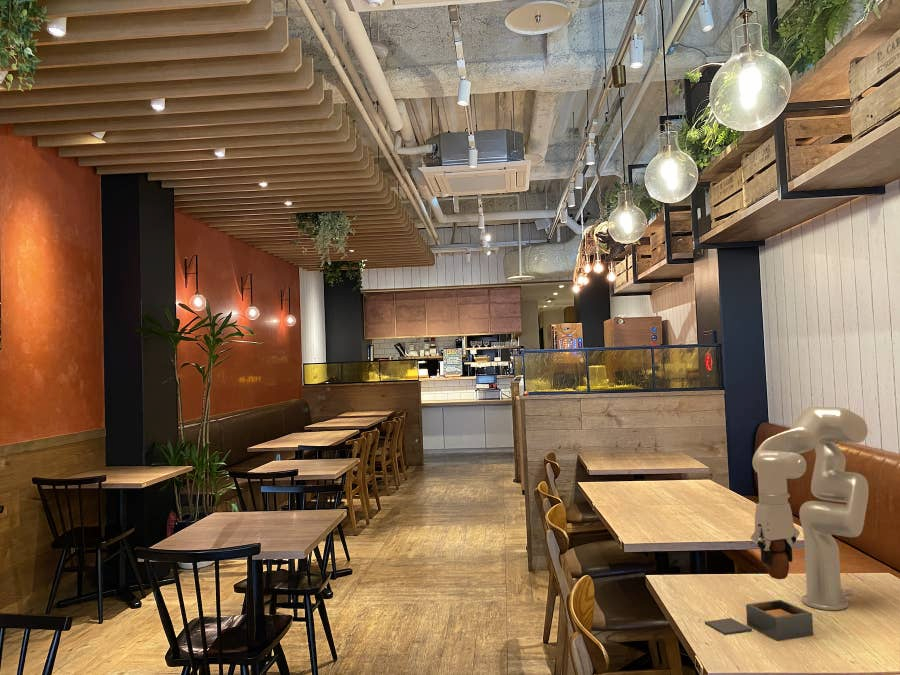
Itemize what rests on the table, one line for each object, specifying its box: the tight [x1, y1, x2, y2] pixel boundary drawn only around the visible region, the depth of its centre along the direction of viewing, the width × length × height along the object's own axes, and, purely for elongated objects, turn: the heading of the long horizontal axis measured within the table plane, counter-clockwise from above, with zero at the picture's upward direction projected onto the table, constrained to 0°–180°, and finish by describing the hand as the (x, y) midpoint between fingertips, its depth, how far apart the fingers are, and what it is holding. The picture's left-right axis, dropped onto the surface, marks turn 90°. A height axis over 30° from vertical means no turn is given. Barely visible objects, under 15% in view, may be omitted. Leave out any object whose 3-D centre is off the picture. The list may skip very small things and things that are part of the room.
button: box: [765, 609, 792, 617], centre depth 195 cm, size 7×7×2 cm
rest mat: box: [704, 617, 753, 636], centre depth 198 cm, size 9×9×1 cm
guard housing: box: [745, 599, 814, 642], centre depth 195 cm, size 12×12×6 cm
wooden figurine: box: [765, 539, 790, 580], centre depth 196 cm, size 7×6×15 cm
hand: (777, 561), depth 196 cm, fingers closed on wooden figurine, 6 cm apart
